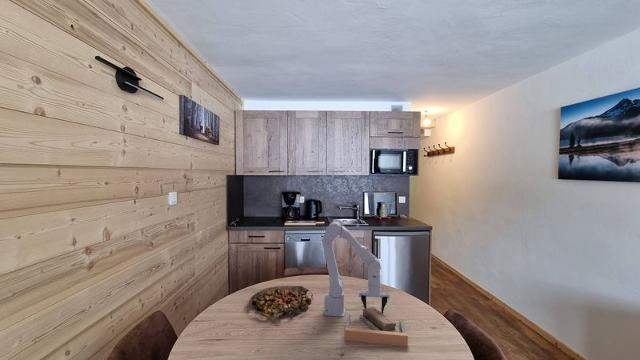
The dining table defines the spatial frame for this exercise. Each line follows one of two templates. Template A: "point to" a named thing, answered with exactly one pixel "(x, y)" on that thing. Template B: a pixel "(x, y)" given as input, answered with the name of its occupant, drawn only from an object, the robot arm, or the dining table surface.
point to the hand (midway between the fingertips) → (374, 312)
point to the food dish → (281, 301)
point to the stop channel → (376, 335)
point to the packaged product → (378, 320)
